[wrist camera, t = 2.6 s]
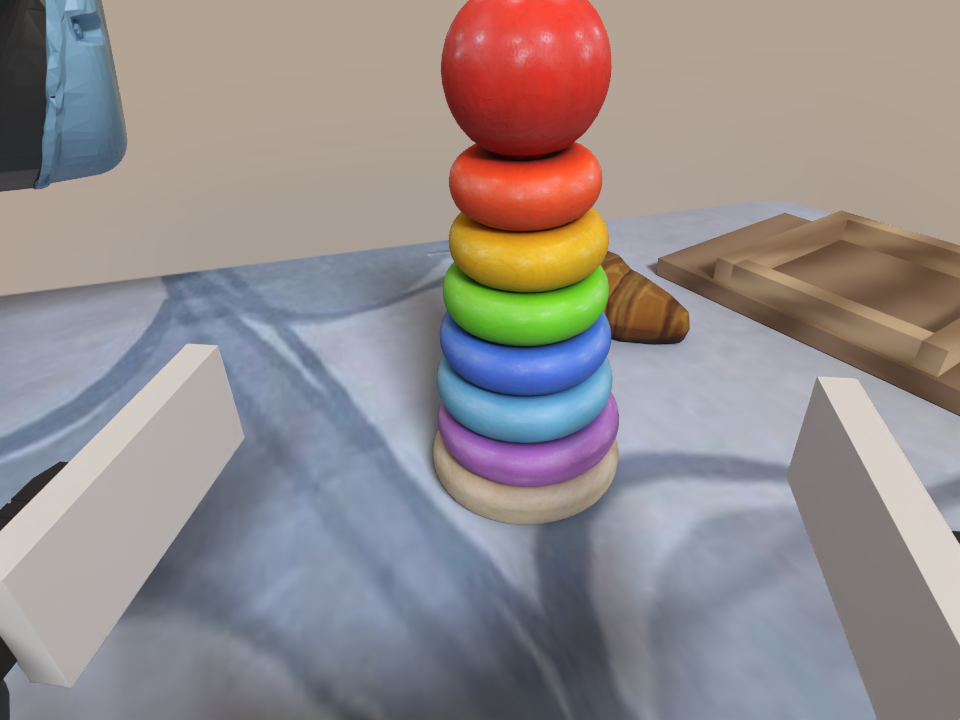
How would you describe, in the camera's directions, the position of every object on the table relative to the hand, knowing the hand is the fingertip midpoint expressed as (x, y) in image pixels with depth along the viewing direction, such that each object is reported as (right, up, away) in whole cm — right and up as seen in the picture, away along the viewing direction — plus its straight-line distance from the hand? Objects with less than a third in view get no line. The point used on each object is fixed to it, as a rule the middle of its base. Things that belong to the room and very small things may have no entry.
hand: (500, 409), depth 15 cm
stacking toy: (+2, -4, +14) cm, 15 cm away
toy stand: (+24, +4, +25) cm, 35 cm away
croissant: (+6, +3, +25) cm, 26 cm away
